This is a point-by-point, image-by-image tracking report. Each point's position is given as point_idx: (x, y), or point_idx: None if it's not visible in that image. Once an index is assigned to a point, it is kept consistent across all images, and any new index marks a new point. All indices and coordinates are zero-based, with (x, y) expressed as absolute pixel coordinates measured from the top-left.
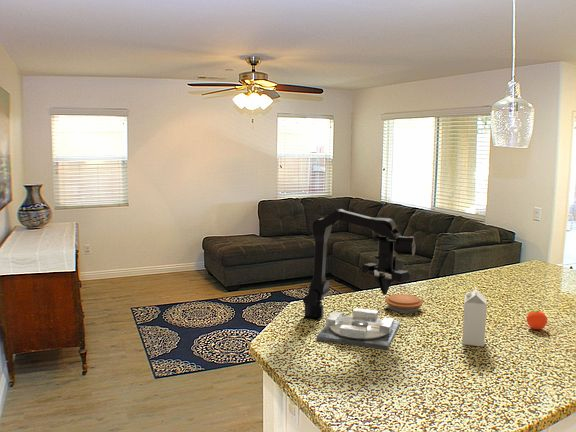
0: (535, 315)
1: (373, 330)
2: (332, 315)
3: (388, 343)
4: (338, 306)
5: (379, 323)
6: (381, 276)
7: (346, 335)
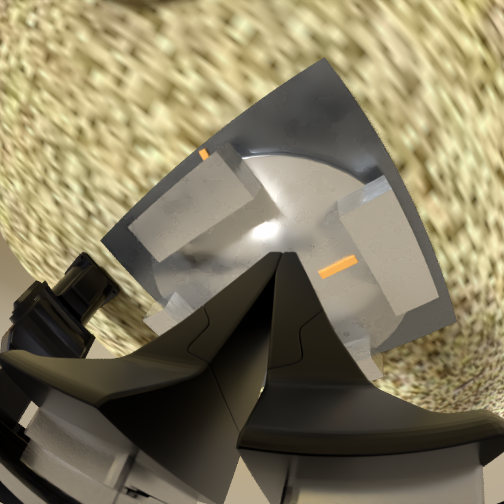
0: None
1: (359, 294)
2: None
3: (450, 307)
4: (28, 154)
5: (315, 212)
6: (204, 494)
7: None
